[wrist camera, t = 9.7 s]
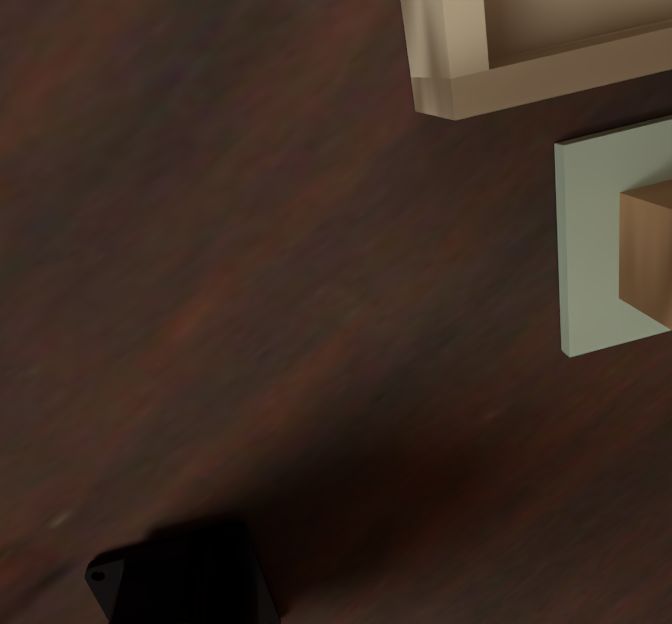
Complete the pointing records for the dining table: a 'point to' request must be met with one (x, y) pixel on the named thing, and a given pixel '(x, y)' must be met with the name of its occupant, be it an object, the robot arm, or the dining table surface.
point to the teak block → (647, 250)
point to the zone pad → (602, 229)
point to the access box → (528, 49)
